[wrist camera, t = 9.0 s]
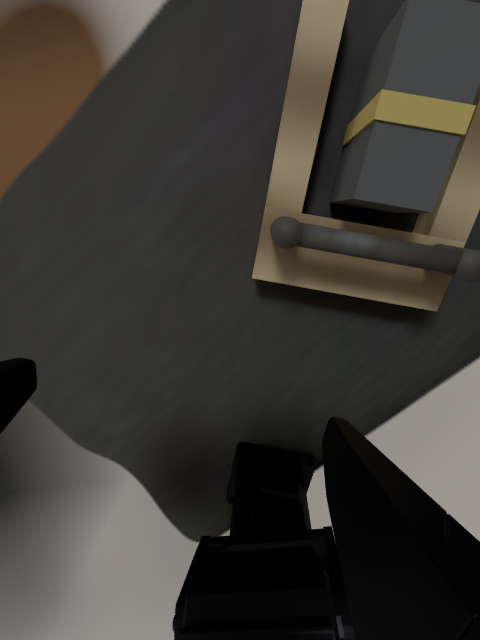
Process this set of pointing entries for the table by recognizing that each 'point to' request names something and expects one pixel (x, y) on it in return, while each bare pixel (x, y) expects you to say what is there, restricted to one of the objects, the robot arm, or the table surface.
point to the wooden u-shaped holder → (348, 237)
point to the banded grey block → (411, 108)
